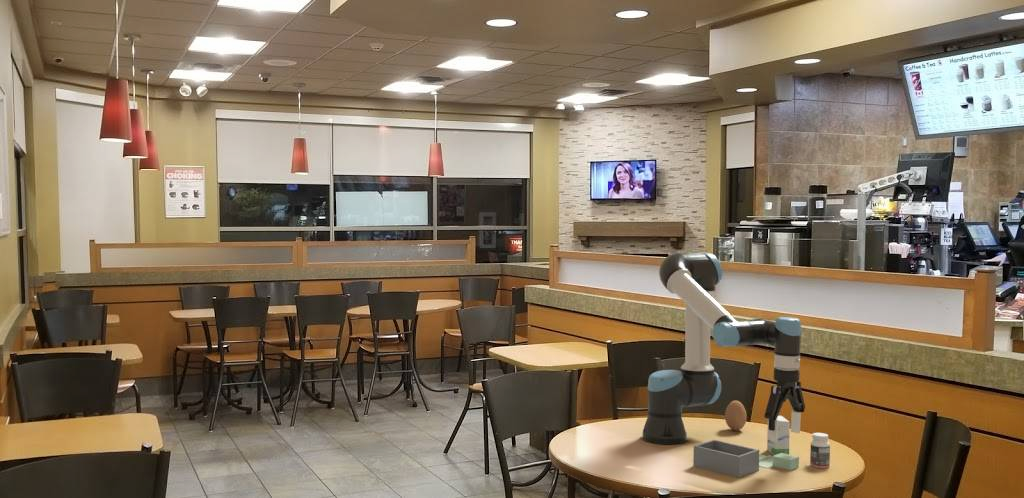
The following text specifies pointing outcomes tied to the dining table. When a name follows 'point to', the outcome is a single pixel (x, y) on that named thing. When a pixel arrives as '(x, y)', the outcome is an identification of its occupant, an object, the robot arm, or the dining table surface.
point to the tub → (726, 458)
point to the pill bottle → (820, 451)
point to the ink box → (780, 438)
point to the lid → (779, 461)
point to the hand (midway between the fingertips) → (784, 436)
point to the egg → (735, 415)
